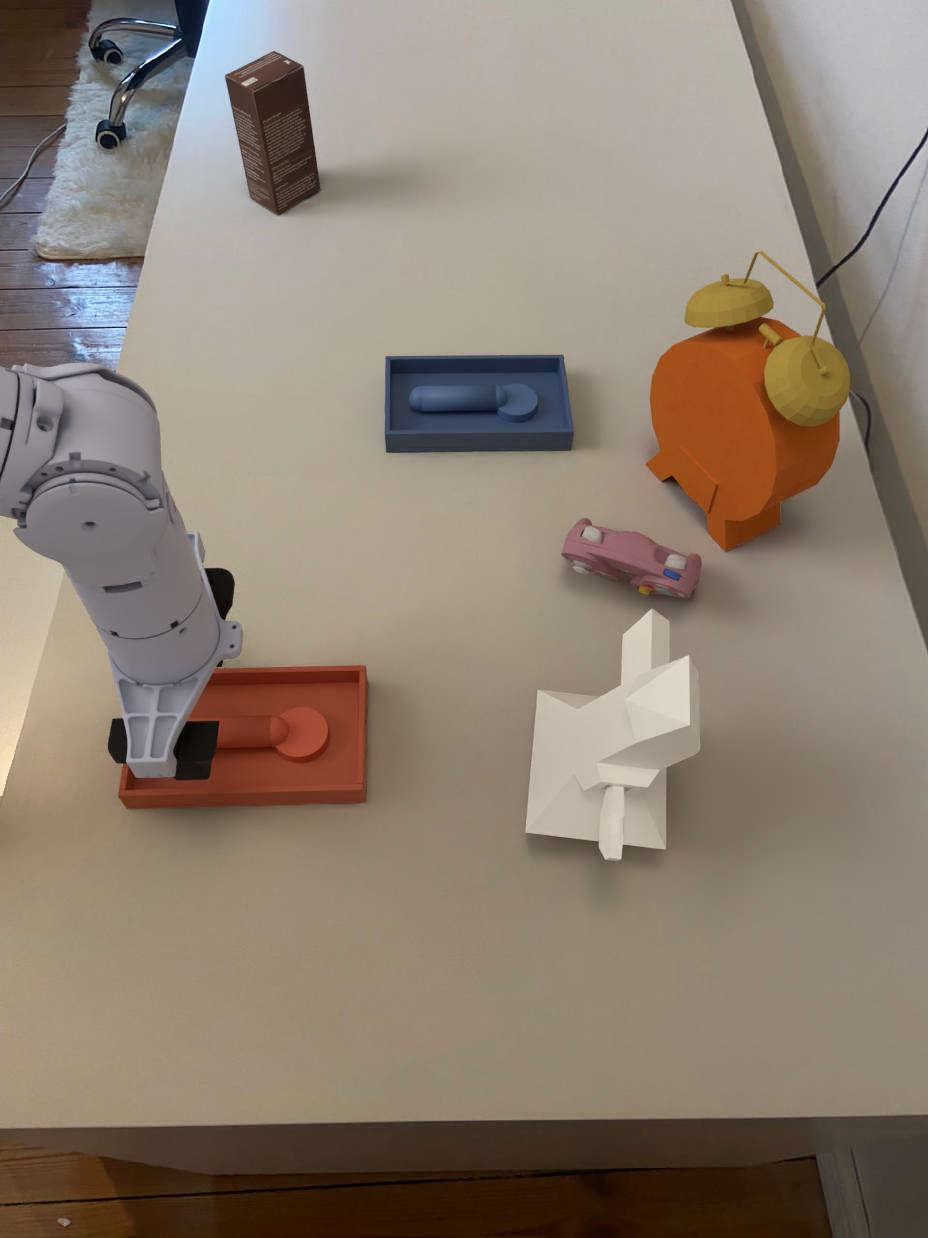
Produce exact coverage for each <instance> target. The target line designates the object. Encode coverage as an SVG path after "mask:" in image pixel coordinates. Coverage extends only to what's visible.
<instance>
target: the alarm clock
mask: <svg viewBox="0 0 928 1238" xmlns="http://www.w3.org/2000/svg"><path fill="white" fill-rule="evenodd" d="M758 255H760V256H762V258H764V259H765V260H766V261H767V262H769V263H770V264H771V265H772V266H773V267H774V268H776V269H777V270H778V271H779V272H780V273H782V274H783V275H784V276H785V277H786V278H787V279H789V280H790V281H791V282H792V283H793V284H794V285H795V286H796V287H798V288H799V289H800V290H801V291H803V292H804V293H805V294H806V295H807V296H809V297H810V298H811V299H812V300H813V301H814V302H816V303H817V304H818V305H819V306H820V308H821V312H820V315H819V318H818V321H817V324H816V326H815V329H814V333H813V335H808V334H807V335H802V334H800V333H799V332H797V331H796V330H794V329H793V328H791V327H790V326H788V325H787V324H785V323H783V322H782V321H780V320H779V319H774V318H771V317H764V316H765V315H766V314H769V313H770V312H771V311H772V310H773V309H774V306H775V302H774V300H773V297H772V294H771V291H770V289H769V288H768V287H767V286H766V285H765V284H764V283H762V282H761V281H760V280H756V279H751V278H750V275H751V273H752V270H753V267H754V266H755V263H756V261H757V258H758ZM720 278H721V279H720V280H718V281H715V282H712V283H710V284H707V285H705V286H703V287H702V288H700V289H698V290H695V292H694V293H693V294H691V296H690V298H689V300H688V301H687V303H686V305H685V312H684V319H683V321H684V323H685V324H686V325H687V326H689V327H693V328H701V329H706V330H705V331H703V332H700V333H698V334H695V335H693V336H690V337H688V338H686V339H683V340H681V341H679V342H676V343H674V344H672V346H670V347H669V348H668V349H667V350H666V351H665V352H664V353H663V354H662V355H660V357H659V359H658V361H657V363H656V366H655V368H654V371H653V373H652V375H651V383H650V392H649V405H650V415H651V424H652V428H653V431H654V435H655V439H656V442H657V445H658V448H659V451H658V452H657V453H656V454H654V456H652V457H651V458H650V459H649V460H648V461H647V462H646V463H645V465H646V467H647V468H648V469H649V470H650V471H651V472H652V473H653V474H654V475H655V476H656V478H657V479H658V480H659V481H660V482H663V481H665V480H668V479H669V478H671V477H673V478H674V480H676V482H677V483H678V484H679V486H680V488H682V489H683V491H684V492H685V494H686V495H687V496H688V497H689V498H690V499H691V500H692V501H694V502H695V503H696V504H697V505H698V506H699V507H700V508H701V509H702V510H703V511H704V512H705V517H706V526H707V533H708V535H709V536H710V537H711V539H713V540H714V541H715V543H717V544H718V545H719V547H720V548H721V549H722V550H723V551H724V552H726V553H727V552H728V551H730V550H733V549H735V548H737V547H738V546H741V545H742V544H744V543H747V542H749V541H751V540H752V539H754V538H757V537H758V536H759V535H762V534H764V533H766V532H768V531H770V530H773V529H774V528H776V527H778V526H780V525H781V503H783V502H784V501H787V500H788V499H791V498H793V497H795V496H796V495H798V494H801V493H803V492H804V491H805V492H806V491H807V490H809V489H810V488H813V487H815V486H817V485H818V484H819V483H820V482H821V480H822V479H823V478H824V476H825V475H826V474H827V472H829V470H830V469H831V467H832V465H833V464H834V461H835V457H836V454H837V452H838V447H839V444H840V441H841V439H840V438H841V435H840V434H841V425H840V424H841V415H840V414H841V412H840V411H841V410H842V409H843V407H844V405H845V404H846V402H847V401H848V397H849V394H850V390H851V373H850V369H849V366H848V362H847V360H846V359H845V357H844V355H843V354H842V352H841V351H840V350H839V349H838V348H837V347H835V345H834V344H832V343H831V342H829V341H827V340H825V339H823V338H822V337H819V336H818V334H819V331H820V328H821V325H822V322H823V319H824V317H825V313H826V310H827V308H826V307H827V306H826V304H825V303H824V302H823V301H822V300H821V299H820V298H819V297H817V296H816V295H815V294H814V293H813V292H812V291H810V290H809V289H808V288H806V286H805V285H803V284H802V283H801V282H800V281H799V280H798V279H796V278H795V277H794V276H793V275H791V274H790V273H789V272H788V271H787V270H785V269H784V268H783V267H782V266H781V265H779V264H778V263H777V262H776V260H774V259H772V257H770V256H769V255H768V254H766V252H764V251H763V250H759V251H756V252H755V253H754V254H753V256H752V259H751V262H750V264H749V267H748V269H747V272H746V275H745V277H744V278H743V277H738V278H730V274H729V273H723V274H721V275H720Z"/></svg>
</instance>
